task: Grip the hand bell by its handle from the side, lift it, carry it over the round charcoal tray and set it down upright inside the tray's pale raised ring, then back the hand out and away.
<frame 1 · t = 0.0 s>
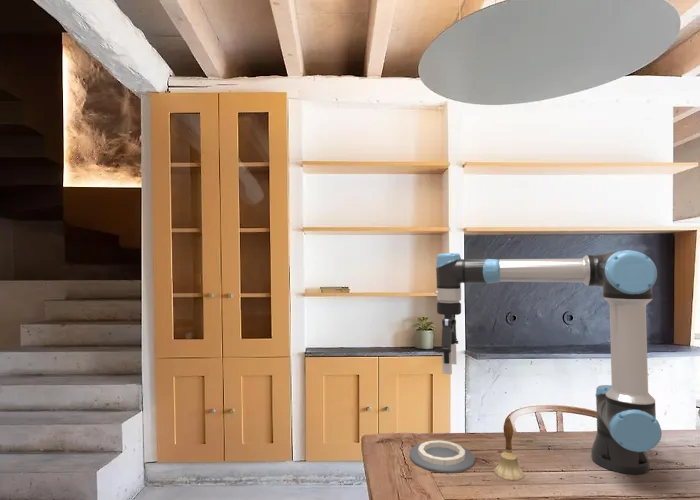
hand: (449, 368, 137), 28 cm above the table, tool pointing down, fingers open, 13 cm apart
hand bell: (509, 474, 126), on the table
ring tray: (441, 457, 137), on the table
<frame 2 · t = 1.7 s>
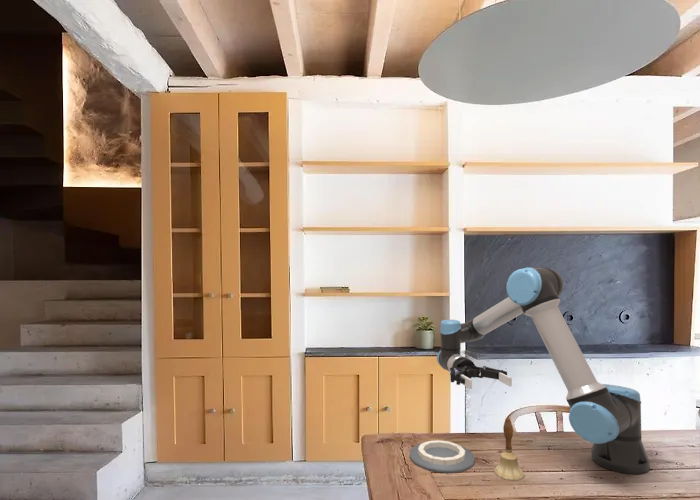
hand: (491, 383, 137), 24 cm above the table, tool horizontal, fingers open, 13 cm apart
nothing on the table moved.
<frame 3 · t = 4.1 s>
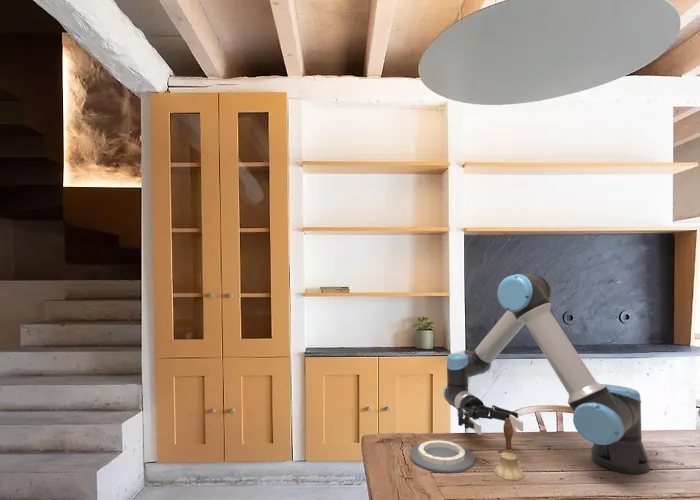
hand: (501, 428, 130), 12 cm above the table, tool horizontal, fingers open, 13 cm apart
nothing on the table moved.
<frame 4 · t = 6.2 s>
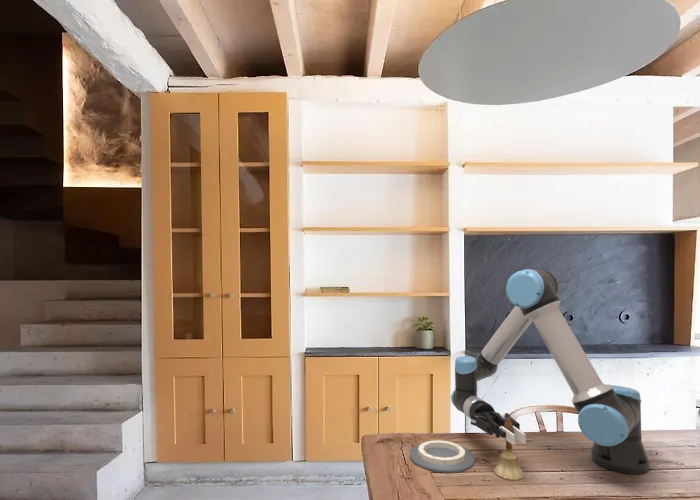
hand: (518, 439, 121), 12 cm above the table, tool horizontal, fingers closed on hand bell, 3 cm apart
hand bell: (509, 473, 126), on the table, touching gripper
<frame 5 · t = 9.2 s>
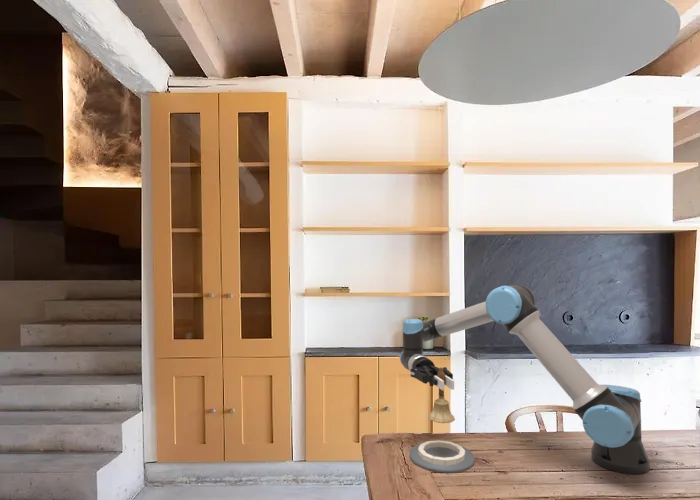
hand: (448, 385, 132), 24 cm above the table, tool horizontal, fingers closed on hand bell, 3 cm apart
hand bell: (441, 419, 137), point 12 cm above the table, touching gripper
when the fingers open (14 cm above the table, at t = 12.2 s): hand bell drops 1 cm, resting on ring tray.
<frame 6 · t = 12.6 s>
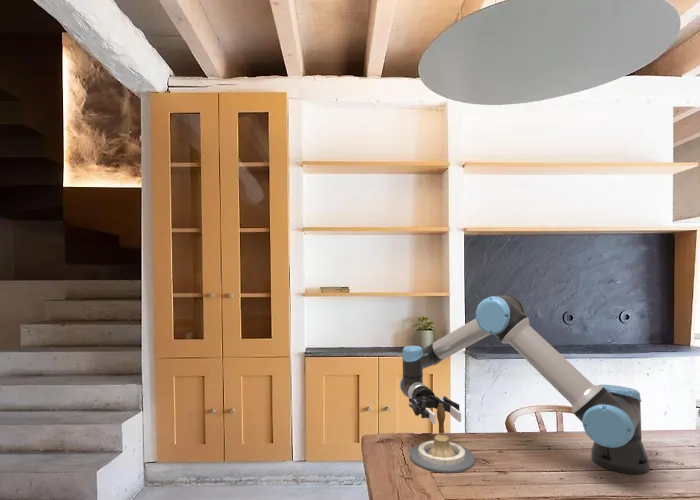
hand: (447, 418, 133), 14 cm above the table, tool horizontal, fingers open, 8 cm apart
hand bell: (441, 455, 137), point 1 cm above the table, touching ring tray
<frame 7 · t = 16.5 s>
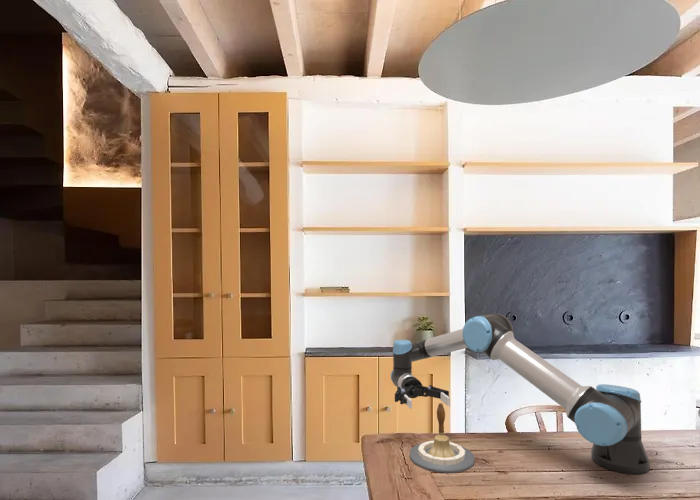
hand: (430, 403, 147), 14 cm above the table, tool horizontal, fingers open, 13 cm apart
nothing on the table moved.
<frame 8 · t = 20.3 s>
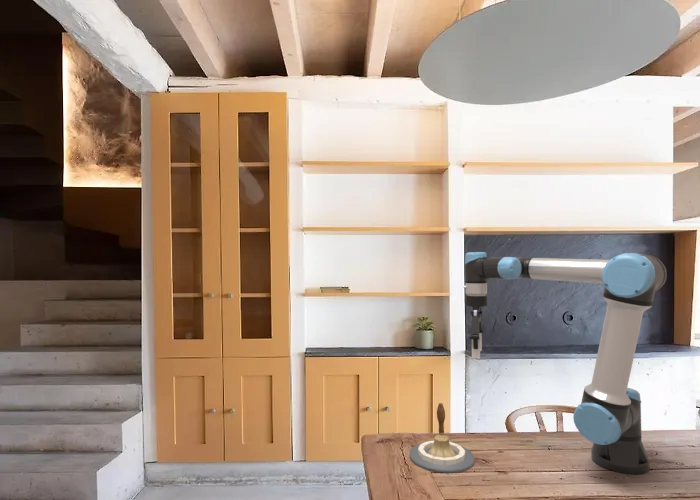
hand: (477, 354, 155), 29 cm above the table, tool pointing down, fingers open, 13 cm apart
nothing on the table moved.
at the end: hand bell 0.1 cm from the ring tray (horizontally); hand bell point 0.8 cm above the table; hand bell tilted 0° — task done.
